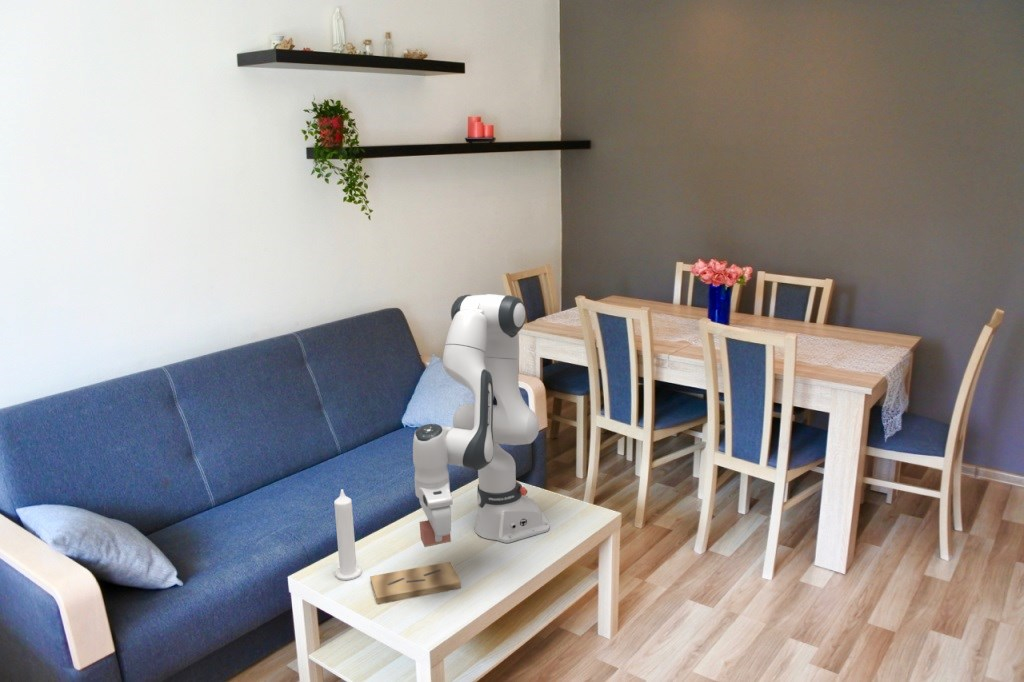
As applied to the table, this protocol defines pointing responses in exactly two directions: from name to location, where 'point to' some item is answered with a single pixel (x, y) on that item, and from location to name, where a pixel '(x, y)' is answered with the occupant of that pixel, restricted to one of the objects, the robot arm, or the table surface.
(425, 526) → the block
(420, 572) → the plank
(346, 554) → the candle
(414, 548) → the table surface
